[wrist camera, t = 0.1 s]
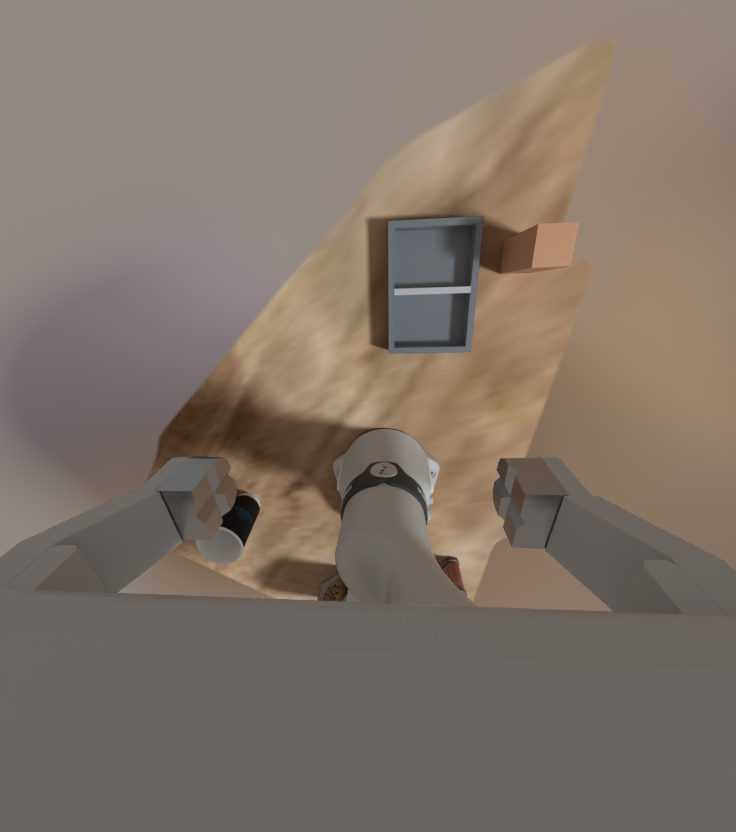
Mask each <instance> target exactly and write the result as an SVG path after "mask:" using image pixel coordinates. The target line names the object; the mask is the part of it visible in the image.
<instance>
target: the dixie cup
mask: <svg viewBox="0 0 736 832" xmlns="http://www.w3.org/2000/svg"><path fill="white" fill-rule="evenodd" d="M259 510H260V501H259V499H258V498H257V497H256V496H254V495H253V494H250V493H242V494H240V495H239V496H237V497H236V499H235V503H234V505H233V507H232V508H231V510H230V511H229V512H227V513H226V514H224V515H223V516H222V520H223V523H222V524H221V526H220V527H219V529H218V531H217V532H216V534H215V535H214V537H213V538H212V540H196V546H197V548H198V550H199V551H200V553H201V554H202V555H203V556H205V557H206V558H207V559H209V560H211V561H213V562H216V563H221V564H229V563H233V562H235V561H237V560H238V559H240V558H241V556H242V554H243V550H244V546H245V543H246V541H247V539H248V537H249V534H250V532H251V530H252V527H253V525H254V523H255V520H256V518H257V516H258V513H259Z"/></svg>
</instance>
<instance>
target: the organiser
mask: <svg viewBox="0 0 736 832" xmlns="http://www.w3.org/2000/svg"><path fill="white" fill-rule="evenodd" d="M483 221H484V216H475V217H456V218H436V219H416V220H397V221H388V302H389V354H398V353H455V352H471V346H472V335H473V325H474V315H475V304H476V294H477V283H478V273H479V263H480V252H481V242H482V232H483Z"/></svg>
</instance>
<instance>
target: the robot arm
mask: <svg viewBox="0 0 736 832" xmlns="http://www.w3.org/2000/svg"><path fill="white" fill-rule="evenodd" d="M230 469H231V468H230V465H229V462H228V460H227V459H225V458H223V457H174V458H172V459H171V460H169V461H168V462H167V463H166V464H165V465H164V466H163V467H162V468H161V469H160V470H158V471H157V472H156V473H155V474H154V475H153V476H152V477H151V478H150V479H149V480H148V481H146V482H145V483H144V484H143V485H142V486H141V487H140V488H139V489H138V490H137V491H130V492H128V493H126V494H124V495H121V496H119V497H117V498H115V499H113V500H110V501H108V502H106V503H104V504H102V505H100V506H97V507H95V508H93V509H91V510H89V511H87V512H85V513H82V514H80V515H78V516H76V517H74V518H71V519H69V520H67V521H65V522H63V523H60V524H58V525H56V526H54V527H52V528H50V529H48V530H45V531H43V532H41V533H39V534H36V535H34V536H32V537H30V538H28V539H26V540H23V541H21V542H19V543H18V544H17V545H16V546H14V547H13V548H12V549H10V550H9V551H8V552H7V553H5V554H4V555H3V556H1V557H0V832H736V571H735V570H734V569H733V568H731V567H730V566H729V565H728V564H727V563H726V562H725V561H724V560H722V559H720V558H718V557H716V556H714V555H712V554H710V553H708V552H706V551H704V550H702V549H700V548H699V547H697V546H695V545H693V544H691V543H689V542H687V541H685V540H683V539H681V538H679V537H677V536H675V535H673V534H671V533H669V532H667V531H665V530H663V529H661V528H659V527H658V526H656V525H654V524H652V523H650V522H648V521H646V520H644V519H642V518H640V517H638V516H636V515H634V514H632V513H630V512H628V511H626V510H624V509H623V508H621V507H618V506H617V505H615V504H613V503H611V502H609V501H607V500H605V499H603V498H601V497H599V496H592V495H591V494H590V493H589V492H588V490H587V489H586V488H585V487H584V486H583V485H582V483H581V482H580V481H579V480H578V479H577V478H576V476H575V475H574V474H573V473H572V472H571V471H570V470H569V468H568V467H567V466H566V465H565V464H564V463H563V461H562V460H561V459H559V458H557V457H541V458H540V457H539V458H501V459H500V460H499V462H498V466H497V471H498V473H499V475H500V477H499V478H498V479H497V480H496V481H495V482H494V488H493V501H494V505H495V509H496V511H497V514H498V515H499V516H500V517H502V518H503V519H504V520H505V521H504V526H503V528H504V530H505V533H506V535H507V537H508V539H509V542H510V544H511V546H512V547H517V548H536V549H546V551H547V552H548V553H549V554H550V555H551V556H552V557H553V558H554V559H555V560H556V561H558V562H559V563H560V564H561V565H562V566H563V567H564V568H566V569H567V570H568V571H569V572H570V573H571V574H572V575H573V576H575V577H576V578H577V579H578V580H579V581H580V582H581V583H582V584H583V585H584V586H586V587H587V588H588V589H589V590H590V591H591V592H592V593H593V594H595V595H596V596H597V597H598V598H599V599H600V600H601V601H602V602H604V603H605V604H606V605H607V606H608V607H609V608H610V609H611V610H613V611H614V612H609V611H582V610H556V609H529V608H527V609H526V608H502V607H478V606H477V605H476V604H474V603H473V602H472V601H471V600H470V599H469V598H468V597H466V596H465V595H464V594H463V593H462V592H461V591H460V590H459V589H458V588H457V587H456V586H455V585H454V584H453V582H452V581H451V580H450V579H449V578H448V577H447V575H446V574H445V573H444V572H443V570H442V569H441V567H440V566H439V564H438V563H437V561H436V559H435V557H434V554H433V551H432V547H431V544H430V540H429V536H428V532H427V527H426V526H427V521H430V519H431V508H430V507H428V505H429V504H432V503H433V496H431V495H432V492H433V489H434V485H435V482H436V479H437V475H438V472H439V463H438V461H437V460H435V459H434V458H432V457H431V456H429V455H427V454H426V453H425V452H424V451H423V449H422V448H421V446H420V445H419V444H418V443H417V442H416V441H415V440H414V439H413V438H412V437H410V436H409V435H407V434H405V433H403V432H400V431H397V430H392V429H378V430H373V431H370V432H367V433H365V434H363V435H362V436H360V437H359V438H357V439H356V440H355V441H354V442H353V443H352V445H351V446H350V447H349V449H348V450H347V452H346V453H345V454H343V455H341V456H340V457H338V458H337V459H335V460H334V462H333V471H334V474H335V477H336V480H337V490H338V491H339V493H340V496H341V499H342V504H341V521H342V523H341V528H340V532H339V537H338V542H337V546H336V552H335V562H336V567H337V570H338V573H339V575H340V577H341V579H342V581H343V582H344V584H345V585H346V587H347V588H348V589H349V591H350V592H351V593H352V594H353V595H354V596H355V597H356V598H358V599H359V600H360V601H362V602H342V601H315V600H288V599H261V598H236V597H210V596H182V595H157V594H156V595H155V594H128V593H118V592H119V591H120V590H121V589H123V588H124V587H125V586H127V585H128V584H129V583H130V582H132V581H133V580H134V579H136V578H137V577H138V576H139V575H141V574H142V573H143V572H145V571H146V570H147V569H148V568H150V567H151V566H152V565H153V564H155V563H156V562H157V561H159V560H160V559H161V558H162V557H164V556H165V555H167V554H168V553H169V552H170V551H172V550H173V549H174V548H176V547H177V546H178V545H179V544H181V543H182V542H183V541H182V540H212V538H213V537H214V535H215V534H216V532H217V531H218V529H219V527H220V526H221V524H222V523H223V520H222V516H223V515H224V514H226V513H227V512H229V511H230V510H231V508H232V507H233V505H234V503H235V499H236V495H237V489H236V484H235V480H234V479H233V478H231V477H230V476H229V475H228V473H229V471H230ZM339 470H340V471H339ZM431 471H432V473H431Z"/></svg>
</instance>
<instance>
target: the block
mask: <svg viewBox="0 0 736 832" xmlns="http://www.w3.org/2000/svg"><path fill="white" fill-rule="evenodd" d="M579 223H580V222H571V223H550V224H537V225H535V226H533V227H531V228H529V229H527V230H525V231H523V232H521V233H519V234H517V235H515V236H513V237H510V238H508V239H506V240H504V245H503V254H502V262H501V270H500V274H510V273H532V272H538V271H544V270H551V269H557V268H563V267H569V266H571V263H572V258H573V253H574V248H575V243H576V238H577V233H578V228H579Z"/></svg>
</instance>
